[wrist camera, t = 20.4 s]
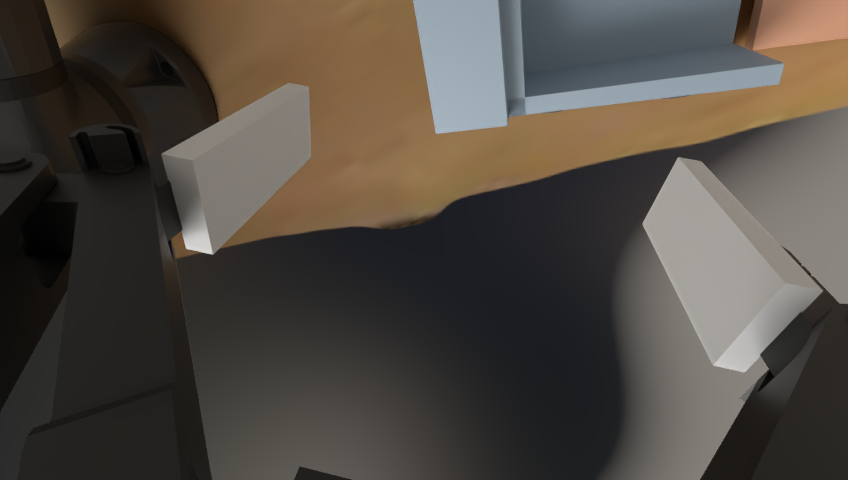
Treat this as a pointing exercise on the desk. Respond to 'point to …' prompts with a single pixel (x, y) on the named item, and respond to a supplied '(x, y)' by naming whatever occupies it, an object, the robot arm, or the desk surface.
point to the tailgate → (796, 22)
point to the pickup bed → (577, 55)
